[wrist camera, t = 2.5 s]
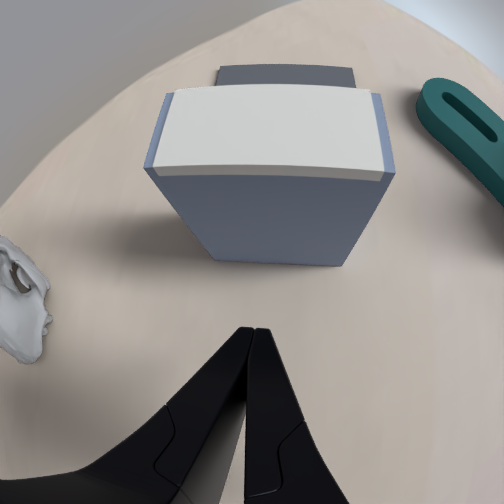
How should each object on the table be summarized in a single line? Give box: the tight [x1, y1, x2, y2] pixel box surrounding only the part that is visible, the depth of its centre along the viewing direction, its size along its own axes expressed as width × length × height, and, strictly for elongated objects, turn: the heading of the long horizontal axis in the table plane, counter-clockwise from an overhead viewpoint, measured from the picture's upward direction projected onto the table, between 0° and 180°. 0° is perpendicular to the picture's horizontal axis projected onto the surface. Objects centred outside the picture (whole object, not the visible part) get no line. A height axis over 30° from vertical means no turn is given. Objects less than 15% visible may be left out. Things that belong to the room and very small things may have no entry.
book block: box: [143, 84, 396, 266], centre depth 15 cm, size 4×8×11 cm, turn 85°
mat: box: [216, 64, 356, 88], centre depth 23 cm, size 14×12×1 cm
